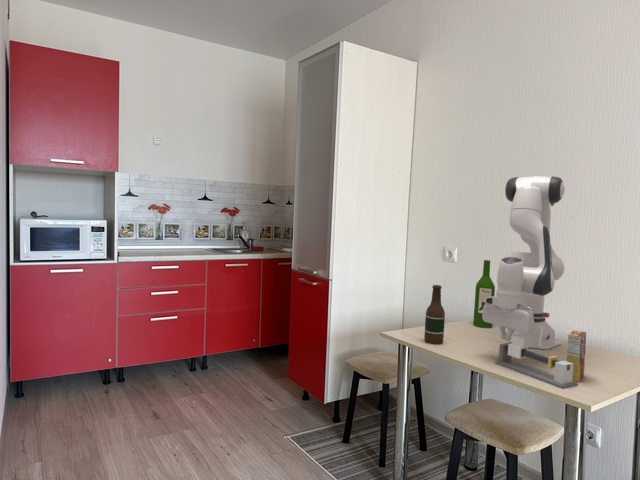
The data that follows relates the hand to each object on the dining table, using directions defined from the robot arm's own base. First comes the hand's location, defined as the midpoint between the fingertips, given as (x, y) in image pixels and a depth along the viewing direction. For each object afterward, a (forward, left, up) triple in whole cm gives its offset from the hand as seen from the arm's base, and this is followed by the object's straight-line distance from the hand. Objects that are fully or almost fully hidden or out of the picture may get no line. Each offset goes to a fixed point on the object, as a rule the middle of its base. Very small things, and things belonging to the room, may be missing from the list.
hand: (505, 339), depth 168 cm
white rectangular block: (0, +5, -5) cm, 7 cm away
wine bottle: (-39, -45, -9) cm, 60 cm away
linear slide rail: (0, +12, -9) cm, 15 cm away
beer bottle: (+6, -31, -9) cm, 33 cm away
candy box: (-11, +20, -9) cm, 24 cm away
